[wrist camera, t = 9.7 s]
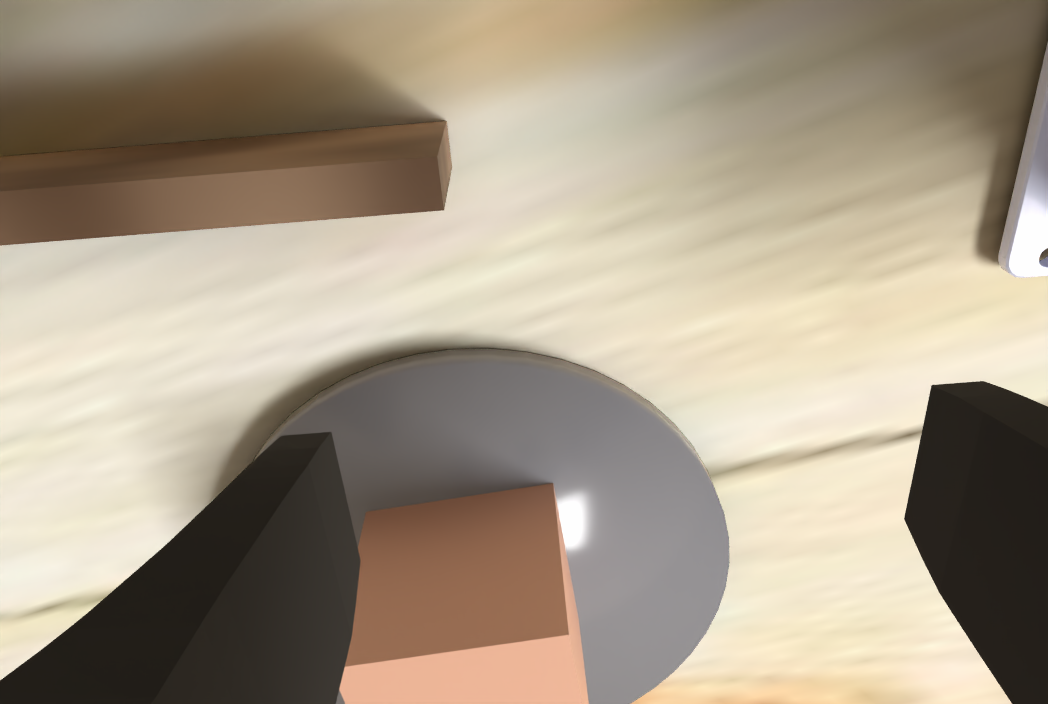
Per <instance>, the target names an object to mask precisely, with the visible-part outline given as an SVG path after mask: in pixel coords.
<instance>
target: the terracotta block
mask: <svg viewBox="0 0 1048 704" xmlns="http://www.w3.org/2000/svg"><path fill="white" fill-rule="evenodd" d="M358 551H359V555H360V560H361V562H360V571H359V581H358V590H357V599H356V608H355V615H354V623H353V631H352V638H351V642H350V647H349V651H348V655H347V659H346V664H345V668H344V672H343V676H342V680H341V684H340V688H339V690H340V692H341V695H342V697H343V700H344V702H345V704H589V701H588V693H587V684H586V676H585V668H584V659H583V651H582V643H581V634H580V626H579V618H578V613H577V607H576V602H575V597H574V591H573V586H572V581H571V575H570V570H569V565H568V559H567V554H566V548H565V543H564V538H563V532H562V527H561V522H560V516H559V511H558V506H557V500H556V495H555V490H554V484H553V483H551V484H545V485H538V486H532V487H525V488H519V489H512V490H505V491H499V492H492V493H486V494H479V495H473V496H466V497H460V498H453V499H447V500H440V501H434V502H427V503H421V504H414V505H408V506H401V507H395V508H388V509H381V510H375V511H368V512H366V514H365V519H364V523H363V528H362V532H361V536H360V541H359V545H358Z"/></svg>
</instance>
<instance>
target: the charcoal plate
mask: <svg viewBox="0 0 1048 704" xmlns="http://www.w3.org/2000/svg"><path fill="white" fill-rule="evenodd" d="M322 432H332V437H333V441H334V446H335V450H336V454H337V459H338V463H339V467H340V472H341V476H342V481H343V485H344V489H345V494H346V498H347V503H348V507H349V511H350V516H351V520H352V525H353V529H354V533H355V538H356V542H357V547H358V545H359V541H360V536H361V532H362V528H363V523H364V519H365V514H366V512H368V511H375V510H381V509H388V508H395V507H401V506H408V505H414V504H421V503H427V502H434V501H440V500H447V499H453V498H460V497H466V496H473V495H479V494H486V493H492V492H499V491H505V490H512V489H519V488H525V487H532V486H538V485H545V484H551V483H553V484H554V490H555V495H556V500H557V506H558V511H559V516H560V522H561V527H562V532H563V538H564V543H565V548H566V554H567V559H568V565H569V570H570V575H571V581H572V586H573V591H574V597H575V602H576V607H577V613H578V618H579V626H580V634H581V643H582V651H583V659H584V668H585V676H586V684H587V693H588V701H589V704H630V703H632V702H634V701H635V700H637V699H638V698H640V697H641V696H643V695H644V694H646V693H647V692H649V691H650V690H652V689H653V688H655V687H656V686H657V685H659V684H660V683H661V682H662V681H663V680H665V679H666V678H667V677H668V676H669V675H670V674H672V673H673V672H674V671H675V670H676V669H677V668H678V667H679V666H680V665H681V664H682V663H683V662H684V660H685V659H686V658H687V657H688V656H689V655H690V654H691V653H692V652H693V650H694V649H695V648H696V646H697V645H698V643H699V642H700V641H701V639H702V638H703V636H704V635H705V634H706V632H707V630H708V628H709V626H710V624H711V623H712V621H713V619H714V617H715V615H716V613H717V611H718V608H719V605H720V602H721V599H722V596H723V593H724V590H725V587H726V581H727V574H728V568H729V536H728V531H727V526H726V521H725V516H724V512H723V509H722V507H721V504H720V501H719V499H718V496H717V494H716V491H715V488H714V486H713V483H712V481H711V478H710V476H709V473H708V471H707V469H706V467H705V465H704V464H703V462H702V460H701V459H700V457H699V455H698V453H697V452H696V450H695V448H694V447H693V445H692V444H691V443H690V442H689V441H688V439H687V438H686V437H685V436H684V435H683V433H682V432H681V431H680V430H679V428H678V427H677V426H676V425H675V424H674V423H673V422H672V421H671V420H670V419H669V418H667V417H666V416H665V415H664V414H663V413H662V412H661V411H660V410H659V409H657V408H656V407H655V406H654V405H653V404H652V403H650V402H649V401H647V400H646V399H644V398H643V397H641V396H640V395H638V394H637V393H635V392H634V391H632V390H631V389H629V388H628V387H626V386H624V385H622V384H620V383H618V382H616V381H614V380H612V379H610V378H608V377H606V376H604V375H602V374H600V373H598V372H596V371H594V370H591V369H588V368H585V367H582V366H579V365H576V364H573V363H570V362H567V361H565V360H561V359H557V358H552V357H548V356H543V355H538V354H534V353H529V352H521V351H511V350H501V349H490V348H489V349H451V350H444V351H436V352H429V353H422V354H415V355H411V356H408V357H404V358H400V359H396V360H392V361H388V362H385V363H381V364H378V365H376V366H373V367H371V368H368V369H366V370H363V371H361V372H358V373H356V374H353V375H351V376H348V377H346V378H345V379H343V380H341V381H339V382H337V383H336V384H334V385H332V386H330V387H328V388H327V389H325V390H323V391H321V392H319V393H318V394H317V395H315V396H314V397H313V398H311V399H310V400H309V401H307V402H306V403H305V404H303V405H302V406H301V407H299V408H298V409H297V410H295V411H294V412H293V413H292V414H291V415H290V416H289V417H288V418H287V419H286V420H285V421H284V422H283V423H282V424H281V425H280V426H279V427H278V428H277V429H276V430H275V431H274V432H273V433H272V434H271V436H270V437H269V438H268V440H267V441H266V442H265V444H264V445H263V447H262V448H261V449H260V451H259V452H258V454H257V455H256V456H255V458H254V460H255V459H256V458H257V457H258V456H259V455H260V454H261V453H262V452H263V451H265V450H266V449H267V448H268V447H269V446H270V445H271V444H272V443H273V442H274V441H276V440H277V439H278V438H279V437H280V436H283V435H296V434H309V433H322ZM254 460H253V461H254ZM336 704H345V702H344V700H343V697H342V695H341V692H340V690H339V692H338V696H337V701H336Z"/></svg>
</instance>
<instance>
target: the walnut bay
mask: <svg viewBox="0 0 1048 704" xmlns="http://www.w3.org/2000/svg"><path fill="white" fill-rule="evenodd" d="M451 170H452V163H451V155H450V146H449V138H448V129H447V121H440V122H428V123H415V124H403V125H390V126H378V127H365V128H353V129H340V130H328V131H315V132H303V133H290V134H278V135H265V136H253V137H240V138H228V139H215V140H203V141H190V142H178V143H165V144H153V145H140V146H128V147H115V148H103V149H90V150H78V151H65V152H53V153H40V154H28V155H15V156H3V157H0V245H11V244H24V243H37V242H49V241H62V240H74V239H87V238H100V237H112V236H125V235H137V234H150V233H163V232H175V231H188V230H200V229H213V228H226V227H238V226H251V225H264V224H276V223H289V222H301V221H314V220H327V219H339V218H352V217H364V216H377V215H390V214H402V213H415V212H427V211H440V210H444V207H445V202H446V196H447V191H448V186H449V180H450V175H451Z"/></svg>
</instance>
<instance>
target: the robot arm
mask: <svg viewBox="0 0 1048 704" xmlns="http://www.w3.org/2000/svg"><path fill="white" fill-rule="evenodd" d="M1046 248H1048V43H1047V47H1046V52H1045V56H1044V60H1043V65H1042V69H1041V73H1040V78H1039V82H1038V86H1037V91H1036V95H1035V99H1034V104H1033V108H1032V112H1031V117H1030V121H1029V125H1028V130H1027V134H1026V138H1025V142H1024V147H1023V151H1022V155H1021V160H1020V164H1019V168H1018V173H1017V177H1016V181H1015V186H1014V190H1013V194H1012V199H1011V203H1010V207H1009V212H1008V216H1007V220H1006V225H1005V229H1004V233H1003V238H1002V242H1001V246H1000V250H999V257H998V262H999V264H1000V266H1001V268H1002V269H1003V270H1005V271H1006V272H1008V273H1010V274H1011V275H1013V276H1014V277H1021V278H1025V277H1038V276H1048V256H1047V257H1046V258H1044V259H1043V260H1040V261H1039V257H1040V255H1041V253H1042V252H1043V251H1044V250H1045V249H1046ZM904 519H905V522H906V524H907V526H908V528H909V530H910V533H911V535H912V537H913V539H914V541H915V544H916V546H917V548H918V550H919V552H920V555H921V557H922V559H923V561H924V563H925V565H926V567H927V569H928V571H929V573H930V575H931V577H932V579H933V581H934V583H935V585H936V587H937V589H938V591H939V593H940V594H941V596H942V597H943V599H944V601H945V602H946V604H947V605H948V607H949V609H950V610H951V612H952V613H953V615H954V616H955V618H956V619H957V621H958V622H959V624H960V625H961V627H962V629H963V630H964V632H965V633H966V635H967V636H968V638H969V639H970V641H971V642H972V644H973V645H974V647H975V648H976V650H977V652H978V653H979V655H980V656H981V658H982V659H983V661H984V662H985V664H986V665H987V667H988V668H989V670H990V671H991V673H992V674H993V676H994V677H995V679H996V680H997V682H998V683H999V685H1000V686H1001V688H1002V689H1003V691H1004V692H1005V694H1006V695H1007V697H1008V698H1009V700H1010V701H1011V703H1012V704H1048V407H1047V406H1045V405H1043V404H1040V403H1038V402H1036V401H1033V400H1031V399H1029V398H1026V397H1024V396H1021V395H1019V394H1017V393H1014V392H1012V391H1009V390H1006V389H1004V388H1001V387H998V386H995V385H993V384H990V383H987V382H984V381H980V382H967V383H954V384H941V385H932V386H931V391H930V396H929V401H928V406H927V411H926V415H925V420H924V425H923V430H922V435H921V440H920V445H919V450H918V454H917V459H916V464H915V469H914V474H913V479H912V484H911V488H910V493H909V498H908V503H907V508H906V513H905V518H904ZM360 562H361V560H360V555H359V551H358V547H357V542H356V538H355V533H354V529H353V525H352V520H351V516H350V511H349V507H348V503H347V498H346V494H345V489H344V485H343V481H342V476H341V472H340V467H339V463H338V459H337V454H336V450H335V446H334V441H333V437H332V432H322V433H309V434H296V435H283V436H280V437H279V438H278V439H277V440H276V441H274V442H273V443H272V444H271V445H270V446H269V447H268V448H267V449H266V450H265V451H263V452H262V453H261V454H260V455H259V456H258V457H257V458H256V459H255V460H254V461H253V462H252V463H251V464H250V465H249V466H248V467H247V468H246V469H245V470H244V471H243V472H242V473H241V474H240V475H239V476H238V477H237V478H236V479H235V480H233V481H232V482H231V483H230V484H229V485H228V486H227V487H226V488H225V489H224V490H223V491H222V492H221V493H220V494H219V495H218V496H217V497H216V498H215V499H214V500H213V501H212V502H211V503H210V504H209V505H208V506H207V507H205V508H204V509H203V510H202V511H201V512H200V513H199V514H198V515H197V516H196V517H195V518H194V519H193V520H192V521H191V522H190V523H189V524H188V525H186V526H185V527H184V528H183V529H182V530H181V531H180V532H179V533H178V534H177V535H176V536H175V537H174V538H173V539H172V540H171V541H170V542H169V543H167V544H166V545H165V546H164V547H163V548H162V549H161V550H160V551H158V552H157V553H156V554H155V555H154V556H153V557H152V558H150V559H149V560H148V561H147V562H146V563H145V564H144V565H142V566H141V567H140V568H139V569H138V570H137V571H135V572H134V573H133V574H132V575H131V576H130V577H129V578H127V579H126V580H125V581H124V582H123V583H122V584H121V585H119V586H118V587H117V588H116V589H115V590H114V591H112V592H111V593H110V594H109V595H108V596H107V597H106V598H104V599H103V600H102V601H101V602H100V603H99V604H98V605H96V606H95V607H94V608H93V609H92V610H91V611H89V612H88V613H87V614H86V615H85V616H83V617H82V618H81V619H80V620H78V621H77V622H76V623H75V624H74V625H72V626H71V627H70V628H69V629H67V630H66V631H65V632H64V633H62V634H61V635H60V636H58V637H57V638H56V639H55V640H53V641H52V642H51V643H50V644H48V645H47V646H46V647H44V648H43V649H42V650H41V651H39V652H38V653H37V654H35V655H34V656H33V657H31V658H30V659H29V660H27V661H26V662H25V663H23V664H22V665H21V666H19V667H18V668H16V669H15V670H14V671H12V672H11V673H10V674H8V675H7V676H6V677H4V678H3V679H2V680H0V704H336V701H337V696H338V692H339V688H340V684H341V680H342V676H343V672H344V668H345V664H346V659H347V655H348V651H349V647H350V642H351V638H352V631H353V623H354V615H355V608H356V599H357V590H358V581H359V571H360Z"/></svg>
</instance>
